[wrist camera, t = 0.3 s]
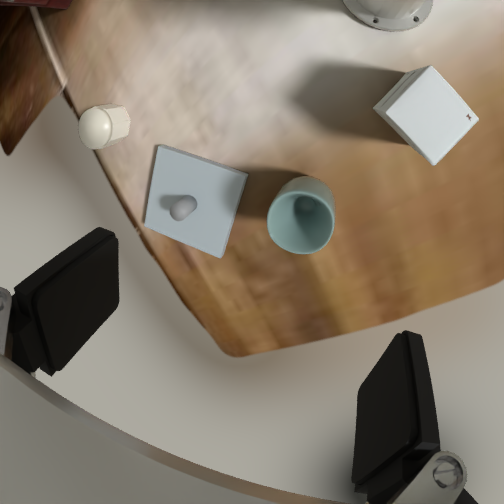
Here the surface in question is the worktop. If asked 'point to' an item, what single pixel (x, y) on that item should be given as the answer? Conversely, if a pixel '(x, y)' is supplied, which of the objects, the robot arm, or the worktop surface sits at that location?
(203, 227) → the stud plate
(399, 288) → the worktop surface
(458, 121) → the supplement box
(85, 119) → the cap
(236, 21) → the worktop surface
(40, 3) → the red grey canister
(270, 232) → the cup
